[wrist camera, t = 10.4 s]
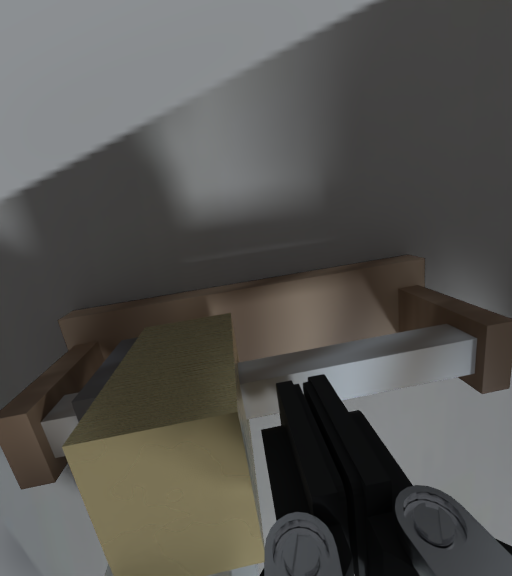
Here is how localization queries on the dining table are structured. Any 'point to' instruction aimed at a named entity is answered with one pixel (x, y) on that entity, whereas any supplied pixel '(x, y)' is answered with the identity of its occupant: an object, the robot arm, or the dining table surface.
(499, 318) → the rod stand
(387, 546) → the robot arm
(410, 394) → the dining table surface
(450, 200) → the dining table surface
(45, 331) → the dining table surface
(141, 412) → the yellow rectangular block
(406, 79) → the dining table surface
